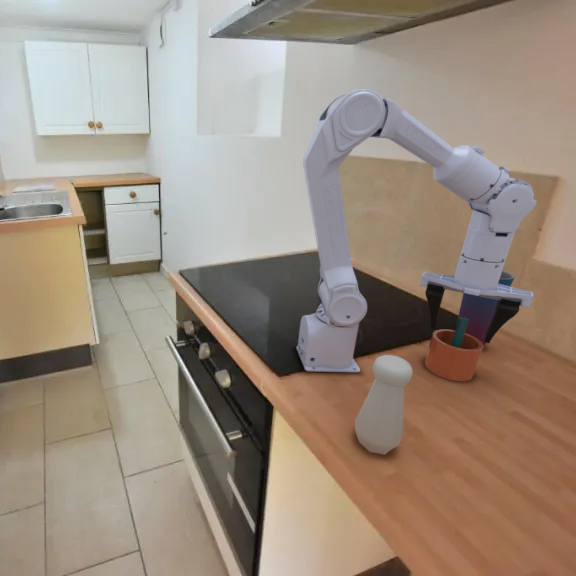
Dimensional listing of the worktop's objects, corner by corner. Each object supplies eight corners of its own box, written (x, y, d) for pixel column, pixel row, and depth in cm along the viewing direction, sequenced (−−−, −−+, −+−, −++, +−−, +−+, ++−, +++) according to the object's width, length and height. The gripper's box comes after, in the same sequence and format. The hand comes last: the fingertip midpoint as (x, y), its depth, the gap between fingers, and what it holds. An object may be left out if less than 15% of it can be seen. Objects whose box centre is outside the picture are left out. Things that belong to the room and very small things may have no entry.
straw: (450, 369, 66) (465, 321, 62) (442, 365, 67) (456, 317, 64) (455, 367, 66) (471, 319, 63) (448, 363, 68) (462, 316, 64)
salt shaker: (375, 465, 48) (397, 379, 43) (342, 434, 52) (357, 354, 48) (408, 451, 50) (432, 368, 45) (373, 422, 55) (391, 344, 50)
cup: (476, 335, 78) (498, 266, 72) (497, 353, 71) (524, 279, 66) (441, 334, 78) (461, 265, 73) (459, 351, 72) (482, 278, 66)
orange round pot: (438, 380, 64) (448, 350, 61) (417, 357, 70) (424, 328, 68) (482, 381, 64) (493, 351, 61) (456, 358, 70) (465, 329, 68)
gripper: (425, 254, 60) (406, 329, 65) (545, 273, 52) (513, 358, 57) (432, 244, 65) (414, 315, 71) (542, 260, 57) (513, 339, 62)
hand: (459, 333), depth 64 cm, fingers open, 7 cm apart
